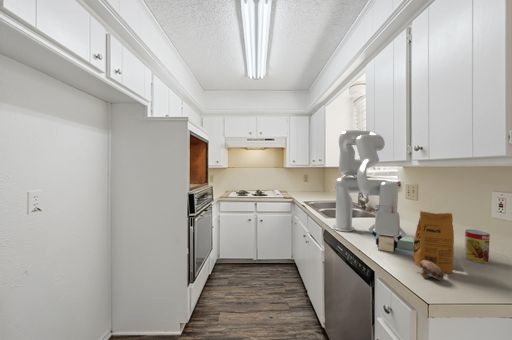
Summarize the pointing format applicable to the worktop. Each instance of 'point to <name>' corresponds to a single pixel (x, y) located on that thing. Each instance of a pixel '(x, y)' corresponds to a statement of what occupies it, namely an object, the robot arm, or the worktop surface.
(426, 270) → the mushroom
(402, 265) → the worktop surface
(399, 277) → the worktop surface
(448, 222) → the coffee package
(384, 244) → the maple cube
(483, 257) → the canned food
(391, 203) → the robot arm
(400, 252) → the building board
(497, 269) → the worktop surface
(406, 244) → the sage slab
